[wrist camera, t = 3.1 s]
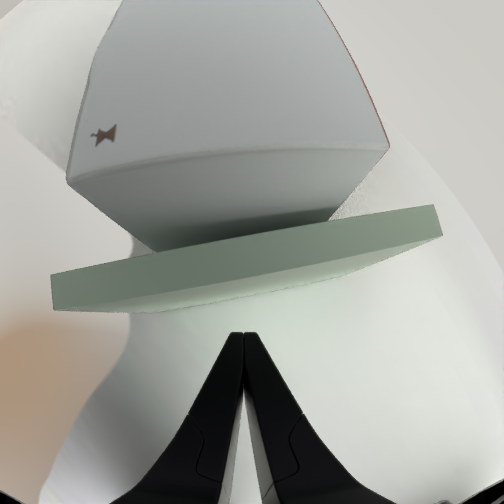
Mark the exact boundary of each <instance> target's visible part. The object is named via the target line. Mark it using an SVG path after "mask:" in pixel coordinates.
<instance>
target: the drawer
mask: <svg viewBox="0 0 504 504" xmlns="http://www.w3.org/2000/svg"><path fill="white" fill-rule="evenodd" d="M441 236H443V234H442V230H441V227H440V223H439V220H438V217H437V213H436V210H435V207H434V204H432V205H425V206H418V207H412V208H406V209H399V210H393V211H387V212H380V213H374V214H368V215H362V216H356V217H350V218H344V219H338V220H332V221H326V222H320V223H315V224H309V225H303V226H297V227H292V228H286V229H280V230H275V231H269V232H264V233H258V234H253V235H247V236H242V237H236V238H231V239H226V240H220V241H215V242H210V243H204V244H199V245H194V246H189V247H184V248H178V249H173V250H168V251H163V252H158V253H156V252H154V251H153V254H148V255H143V256H138V257H133V258H128V259H123V260H119V261H114V262H109V263H104V264H99V265H94V266H89V267H85V268H80V269H75V270H71V271H66V272H62V273H57V274H52V275H51V289H52V299H53V309H54V310H58V311H59V310H61V311H81V312H127V313H154V312H161V311H167V310H173V309H179V308H185V307H191V306H197V305H202V304H208V303H214V302H219V301H225V300H230V299H235V298H241V297H246V296H251V295H256V294H261V293H266V292H271V291H276V290H281V289H286V288H291V287H295V286H300V285H305V284H309V283H314V282H318V281H323V280H327V279H332V278H336V277H340V276H343V275H346V274H349V273H351V272H354V271H357V270H359V269H362V268H365V267H367V266H370V265H372V264H375V263H377V262H380V261H383V260H385V259H388V258H390V257H393V256H395V255H398V254H400V253H403V252H405V251H408V250H410V249H412V248H415V247H417V246H420V245H422V244H424V243H427V242H429V241H432V240H434V239H436V238H439V237H441Z"/></svg>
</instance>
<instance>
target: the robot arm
mask: <svg viewBox="0 0 504 504" xmlns="http://www.w3.org/2000/svg"><path fill="white" fill-rule="evenodd" d="M243 394H244V397H245V404H246V410H247V417H248V423H249V429H250V436H251V442H252V448H253V454H254V460H255V465H256V471H257V477H258V482H259V488H260V493H261V499H262V504H396V503H394V502H392V501H390V500H388V499H386V498H385V497H383V496H381V495H379V494H377V493H375V492H374V491H372V490H370V489H368V488H367V487H365V486H363V485H362V484H361V483H359V482H358V481H357V480H356V479H355V478H354V477H353V476H352V475H351V474H350V473H349V472H348V471H347V470H346V469H345V468H344V466H343V465H342V464H341V463H340V462H339V461H338V459H337V458H336V457H335V456H334V455H333V454H332V452H331V451H330V450H329V449H328V448H327V447H326V445H325V444H324V443H323V441H322V440H321V439H320V438H319V436H318V435H317V433H316V432H315V430H314V429H313V427H312V426H311V424H310V423H309V421H308V419H307V418H306V416H305V415H304V414H303V411H302V410H301V408H300V406H299V405H298V403H297V401H296V400H295V398H294V396H293V395H292V393H291V391H290V390H289V388H288V386H287V384H286V383H285V381H284V379H283V378H282V376H281V374H280V372H279V371H278V369H277V367H276V365H275V364H274V362H273V360H272V358H271V357H270V355H269V353H268V351H267V350H266V348H265V346H264V344H263V343H262V341H261V339H260V337H259V336H258V334H257V333H256V332H245V333H244V334H243V333H242V332H231V333H230V334H229V336H228V338H227V340H226V342H225V344H224V346H223V348H222V350H221V352H220V354H219V356H218V357H217V359H216V361H215V363H214V365H213V367H212V369H211V371H210V373H209V375H208V376H207V378H206V380H205V382H204V384H203V386H202V388H201V390H200V392H199V393H198V395H197V397H196V399H195V401H194V403H193V405H192V407H191V408H190V410H189V412H188V414H189V415H187V416H186V417H185V419H184V421H183V423H182V425H181V426H180V428H179V430H178V431H177V433H176V435H175V437H174V438H173V439H172V441H171V442H170V444H169V445H168V447H167V448H166V449H165V451H164V452H163V453H162V455H161V456H160V457H159V458H158V460H157V461H156V462H155V464H154V465H153V466H152V467H151V469H150V470H149V471H148V473H147V474H146V475H145V476H144V477H143V479H142V480H141V481H140V482H139V483H138V484H137V485H136V486H135V487H133V488H132V489H131V490H130V491H128V492H127V493H125V494H124V495H122V496H121V497H119V498H118V499H116V500H114V501H113V502H111V503H110V504H229V501H230V494H231V487H232V480H233V472H234V465H235V457H236V450H237V442H238V434H239V427H240V419H241V411H242V403H243ZM0 504H24V503H23V502H21V501H19V500H17V499H15V498H14V497H12V496H10V495H8V494H6V493H4V492H2V491H0ZM434 504H452V503H451V502H449V501H448V500H443V501H440V502H437V503H434ZM458 504H504V479H502V480H500V481H498V482H496V483H494V484H492V485H490V486H488V487H487V488H485V489H483V490H481V491H480V492H478V493H476V494H474V495H472V496H471V497H469V498H467V499H466V500H464V501H462V502H460V503H458Z"/></svg>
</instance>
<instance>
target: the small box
mask: <svg viewBox="0 0 504 504" xmlns="http://www.w3.org/2000/svg"><path fill="white" fill-rule="evenodd" d="M389 148H390V144H389V141H388V138H387V135H386V133H385V130H384V128H383V125H382V123H381V120H380V118H379V115H378V113H377V110H376V108H375V106H374V103H373V101H372V99H371V96H370V94H369V92H368V89H367V87H366V85H365V83H364V81H363V79H362V77H361V75H360V73H359V71H358V69H357V66H356V64H355V62H354V60H353V59H352V57H351V55H350V53H349V51H348V49H347V48H346V46H345V44H344V42H343V40H342V39H341V37H340V35H339V33H338V32H337V30H336V28H335V26H334V25H333V23H332V21H331V20H330V18H329V17H328V15H327V14H326V12H325V10H324V9H323V7H322V6H321V4H320V3H319V1H318V0H123V1H122V3H121V5H120V7H119V8H118V10H117V12H116V14H115V16H114V18H113V20H112V22H111V24H110V26H109V28H108V30H107V32H106V34H105V35H104V37H103V39H102V41H101V43H100V45H99V46H98V49H97V51H96V53H95V56H94V59H93V62H92V65H91V69H90V72H89V76H88V81H87V85H86V89H85V92H84V95H83V99H82V102H81V106H80V110H79V114H78V117H77V121H76V126H75V131H74V136H73V141H72V145H71V150H70V155H69V161H68V166H67V171H66V181H67V184H68V185H69V186H70V187H72V188H73V189H74V190H75V191H76V192H78V193H79V194H80V195H82V196H83V197H84V198H86V199H87V200H88V201H89V202H91V203H92V204H93V205H94V206H95V207H97V208H98V209H99V210H100V211H102V212H103V213H104V214H106V215H107V216H108V217H109V218H111V219H112V220H113V221H115V222H116V223H117V224H118V225H120V226H121V227H122V228H124V229H125V230H126V231H128V232H129V233H130V234H132V235H133V236H134V237H136V238H137V239H138V240H140V241H141V242H142V243H144V244H145V245H146V246H148V247H149V248H150V249H152V250H153V251H154V252H156V253H158V252H163V251H168V250H173V249H178V248H184V247H189V246H194V245H199V244H204V243H210V242H215V241H220V240H226V239H231V238H236V237H242V236H247V235H253V234H258V233H264V232H269V231H275V230H280V229H286V228H292V227H297V226H303V225H309V224H315V223H320V222H326V221H327V220H328V219H329V218H330V217H331V216H332V214H333V213H334V212H335V211H336V210H337V209H338V208H339V207H340V205H341V204H342V203H343V202H344V201H345V200H346V199H347V198H348V196H349V195H350V194H351V193H352V192H353V190H354V189H355V188H356V187H357V186H358V185H359V183H360V182H361V181H362V180H363V179H364V178H365V177H366V175H367V174H368V173H369V172H370V170H371V169H372V168H373V167H374V166H375V165H376V164H377V162H378V161H379V160H380V159H381V158H382V156H383V155H384V154H385V153H386V152H387V151H388V149H389Z"/></svg>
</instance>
